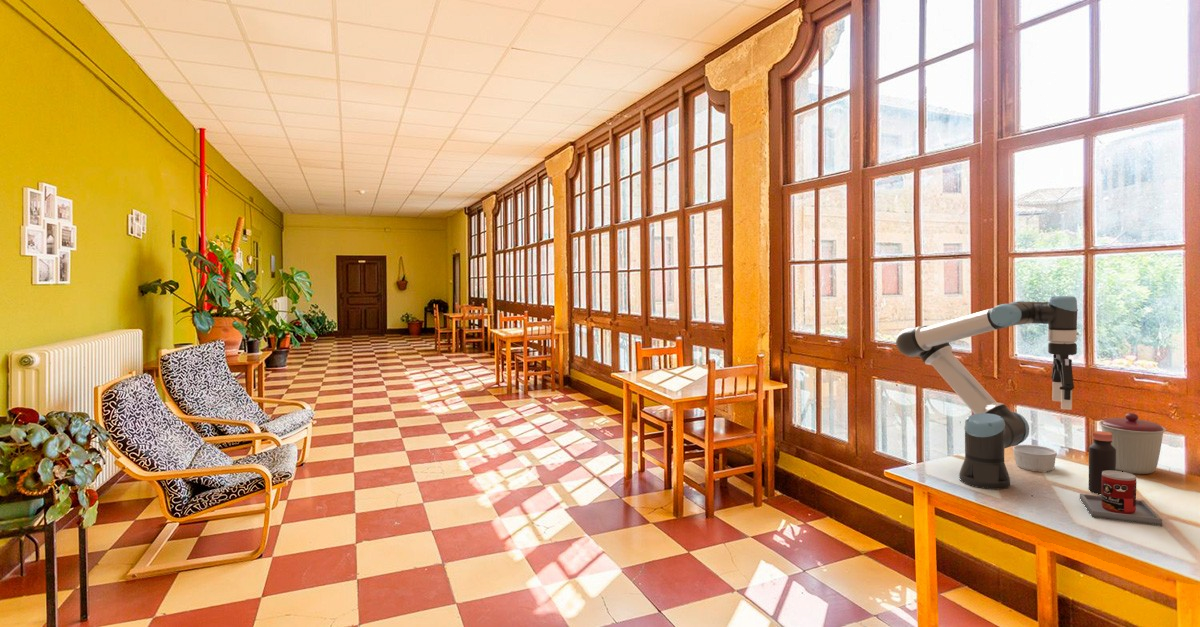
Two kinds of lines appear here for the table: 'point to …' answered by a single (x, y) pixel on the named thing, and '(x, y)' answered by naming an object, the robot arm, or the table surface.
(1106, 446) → the bottle
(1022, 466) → the ramekin
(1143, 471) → the canister
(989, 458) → the robot arm
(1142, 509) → the tray
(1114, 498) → the canned food
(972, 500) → the table surface
